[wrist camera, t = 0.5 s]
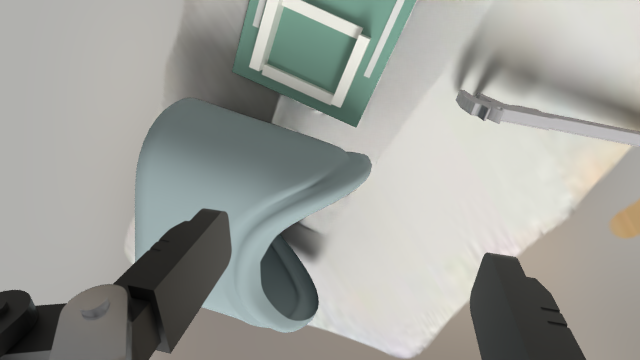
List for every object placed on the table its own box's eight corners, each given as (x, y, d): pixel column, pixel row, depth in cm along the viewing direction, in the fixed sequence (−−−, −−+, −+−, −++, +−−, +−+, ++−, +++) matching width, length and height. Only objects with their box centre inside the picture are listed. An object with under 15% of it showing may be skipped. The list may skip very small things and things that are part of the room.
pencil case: (212, 86, 37) (133, 118, 26) (377, 140, 36) (369, 197, 25) (196, 238, 47) (134, 308, 36) (323, 283, 46) (300, 369, 35)
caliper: (454, 99, 32) (465, 117, 27) (458, 88, 32) (470, 104, 26) (680, 151, 30) (742, 183, 25) (689, 140, 30) (754, 170, 24)
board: (291, -145, 27) (279, -164, 24) (450, -73, 27) (456, -84, 24) (236, 69, 35) (223, 74, 33) (357, 124, 36) (354, 133, 33)
